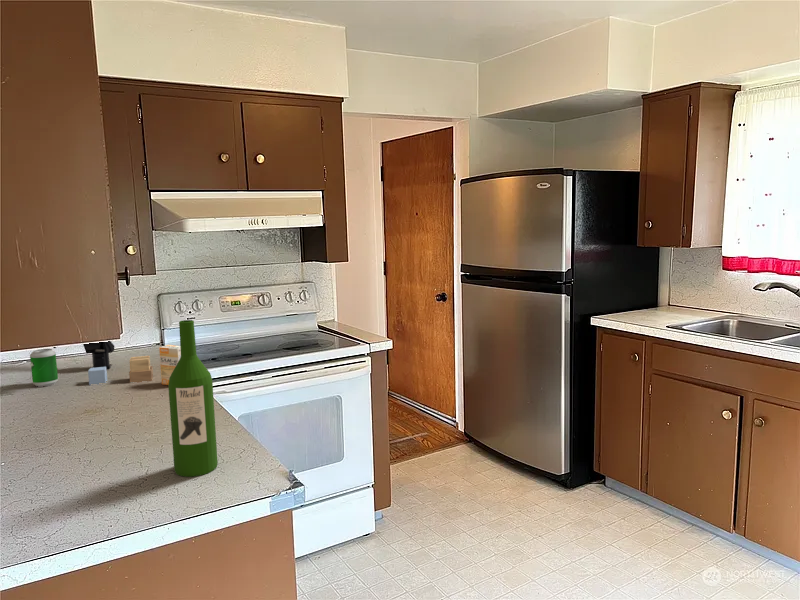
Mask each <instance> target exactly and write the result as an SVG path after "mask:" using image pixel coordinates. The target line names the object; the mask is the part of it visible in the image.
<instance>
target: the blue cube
mask: <svg viewBox="0 0 800 600" xmlns="http://www.w3.org/2000/svg"><path fill="white" fill-rule="evenodd" d="M107 370H108V369H106V367H96V368H92V367H90V368H89V369H88V371H87V372H88V373H87V374H88V385H89V386H92V385H91V384H97V385H100V384H99V383H106V384H107V382H108V372H107ZM106 381H107V382H106Z"/></svg>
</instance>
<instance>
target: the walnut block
mask: <svg viewBox="0 0 800 600" xmlns="http://www.w3.org/2000/svg"><path fill="white" fill-rule="evenodd" d="M128 376H129V383H130V382H137V383H143V382H142V381H147V382H152V381H153V379H154V369H153V365H150V369H149V370H147V371H136V372H130V371H129V372H128Z"/></svg>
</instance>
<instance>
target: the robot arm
mask: <svg viewBox="0 0 800 600" xmlns="http://www.w3.org/2000/svg"><path fill="white" fill-rule="evenodd" d="M82 345H83V348H84V351H85V353H86V354H91V356H92V367H91V368H96V367H106V369H107V370H109V369H111V367H112V365H113V364H112V363H110V354H111V353H113V352H114V351H115V344H114V343H113V342H112V341H111V340H110V341H108V342H99V343H89V344H83V343H82ZM52 348H54V349H57V347H53V346H52Z"/></svg>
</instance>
